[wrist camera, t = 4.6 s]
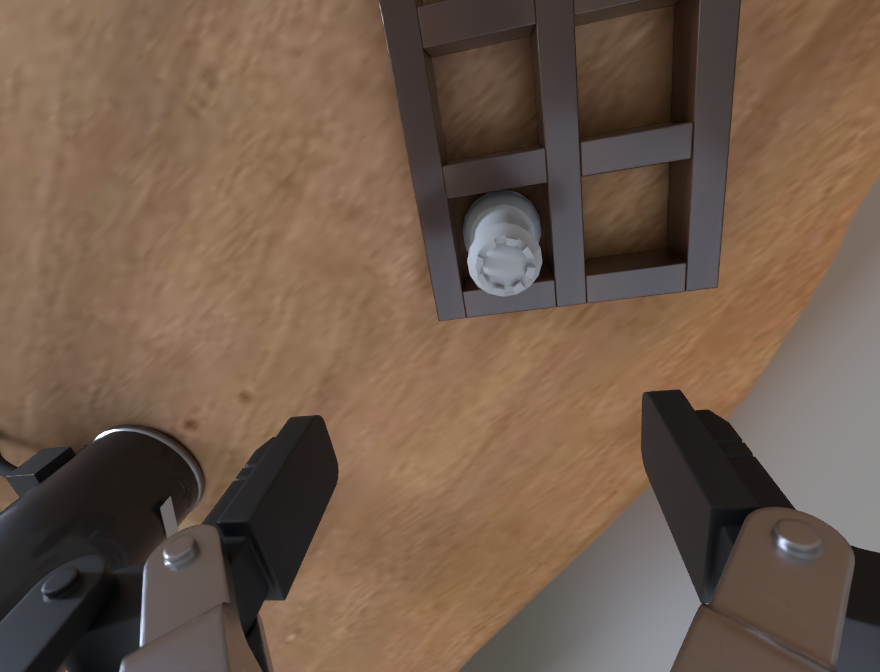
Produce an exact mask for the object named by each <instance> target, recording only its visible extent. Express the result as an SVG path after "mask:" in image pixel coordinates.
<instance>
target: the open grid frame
mask: <svg viewBox="0 0 880 672" xmlns="http://www.w3.org/2000/svg"><path fill="white" fill-rule="evenodd" d="M674 4H675V8H674V40H673V72H672V103H671V122H667V123H661V124H655V125H650V126H644V127H638V128H633V129H627V130H622V131H616V132H610V133H605V134H599V135H594V136H588V137H582V138H579V116H578V92H577V69H576V46H575V26H579V25H584V24H588V23H593V22H597V21H602V20H607V19H611V18H616V17H620V16H625V15H630V14H634V13H639V12H643V11H648V10H653V9H657V8H662V7H666V6H671V5H674ZM740 4H741V0H443V1H439V2H435V3H430V4H426V5H423V2H422V0H379V5H380V10H381V16H382V21H383V26H384V32H385V37H386V42H387V48H388V53H389V58H390V64H391V69H392V74H393V80H394V85H395V90H396V96H397V101H398V106H399V112H400V117H401V122H402V128H403V133H404V138H405V144H406V149H407V154H408V160H409V165H410V170H411V176H412V181H413V186H414V192H415V197H416V202H417V208H418V213H419V218H420V224H421V229H422V234H423V240H424V245H425V250H426V256H427V261H428V266H429V272H430V277H431V282H432V288H433V293H434V298H435V304H436V309H437V315H438V320H439V321H444V320H453V319H461V318H466V317H467V318H469V317H477V316H485V315H494V314H502V313H510V312H519V311H527V310H535V309H544V308H552V307H556V306H557V307H560V306H569V305H577V304H585V303H586V302H587V303H593V302H602V301H610V300H618V299H627V298H635V297H643V296H652V295H660V294H668V293H677V292H684V291H692V290H701V289H709V288H717V287H718V278H719V265H720V253H721V240H722V228H723V216H724V203H725V191H726V178H727V166H728V153H729V141H730V129H731V116H732V104H733V91H734V79H735V66H736V54H737V42H738V29H739V17H740ZM528 36H531V44H532V57H533V70H534V83H535V96H536V109H537V122H538V135H539V145H537V146H532V147H526V148H521V149H515V150H509V151H504V152H498V153H492V154H487V155H481V156H476V157H470V158H464V159H459V160H453V161H448V162H447V157H446V151H445V144H444V138H443V131H442V125H441V118H440V112H439V105H438V99H437V93H436V86H435V80H434V73H433V67H432V60H431V57H437V56H441V55H446V54H450V53H455V52H460V51H464V50H469V49H473V48H478V47H483V46H487V45H492V44H496V43H501V42H505V41H510V40H515V39H519V38H524V37H528ZM668 162H670V167H669V198H668V230H667V249H666V248H665V249H658V250H651V251H643V252H636V253H629V254H621V255H614V256H606V257H599V258H592V259H585V254H584V231H583V208H582V185H581V176H589V175H595V174H601V173H607V172H614V171H620V170H626V169H632V168H638V167H644V166H650V165H656V164H662V163H668ZM541 183H542V187H543V200H544V213H545V226H546V239H547V252H548V265H541V269H540V272H539V276H538V277H537V278H536V279H535V281H534V282H533V283H532V285H531V286H530V287H529V288H527V289H525V290H524V291H522V292H520V293H519V294H516V295H510V296H504V297H502V296H497V295H492V294H489V293H487V292H486V291H484V290H482V289H481V288H479V287H478V286H477V285H476V283H475V282H474V280H473V279H472V277H471V276H470V275H466V276H465V273H464V267H463V260H462V254H461V247H460V241H459V234H458V228H457V222H456V215H455V209H454V202H453V198H456V197H462V196H468V195H474V194H480V193H487V192H493V191H499V190H505V189H511V188H517V187H523V186H529V185H535V184H541Z"/></svg>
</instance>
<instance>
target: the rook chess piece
mask: <svg viewBox="0 0 880 672" xmlns="http://www.w3.org/2000/svg"><path fill="white" fill-rule="evenodd" d="M462 232H463V238H464V243H465V248H466V250H467V251H468V253H469V255H468V260H467V263H468V268H469V273H470V276H471V277H472V279H473V280H474V282H475V283H476V285H477V286H478V287H479V288H481V289H482V290H484V291H486V292H487V293H489V294H492V295H497V296H502V297H504V296H510V295H516V294H519V293H520V292H522V291H524V290H525V289H527V288H529V287H530V286H531V285H532V283H533V282H534V281H535V279H536V278H537V277H538V276H539V272H540V269H541V265H542V255H541V247H540V246H539V241H540V237H541V234H542V233H541V225H540V217H539V214H538V212H537V210H536V209H535V207H534V205H533V204H532V202H531V201H530V200H528V199H527V198H526V197H524V196H523V195H521V194H520V193H518V192H513V191H508V190H499V191H493V192H488V193H486V194H485V195H483V196H482V197H480V198H479V199H477V200H476V201H474V202H473V204H472V205H471V207H470V209H469V210H468V212H467V213H466V215H465V219H464V224H463V229H462Z"/></svg>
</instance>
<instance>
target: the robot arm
mask: <svg viewBox="0 0 880 672" xmlns="http://www.w3.org/2000/svg"><path fill="white" fill-rule="evenodd" d="M641 451H642V459H643V463H644V467H645V471H646V473H647V476H648V478H649V481H650V483H651V485H652V488H653V490H654V492H655V495H656V497H657V500H658V502H659V504H660V507H661V509H662V511H663V514H664V516H665V519H666V521H667V523H668V526H669V528H670V530H671V533H672V535H673V538H674V539H675V542H676V545H677V547H678V549H679V552H680V554H681V557H682V559H683V561H684V564H685V566H686V568H687V571H688V573H689V575H690V578H691V580H692V583H693V585H694V587H695V590H696V592H697V594H698V597H699V599H700V602H701V603H702V604H701V605H700V607H699V608H698V610H697V612H696V614H695V616H694V618H693V621H692V623H691V625H690V628H689V630H688V632H687V634H686V637H685V639H684V641H683V644H682V646H681V648H680V650H679V653H678V655H677V657H676V659H675V662H674V664H673V666H672V668H671V671H670V672H880V553H877V552H872V551H868V550H864V549H860V548H857V547H854V546H851V545H850V544H849V543H848V542H847V541H846V539H845V538H844V537H843V536H842V535H841V534H840V533H839V532H838V531H837V530H835V529H834V528H833V527H831V526H830V525H828V524H827V523H825V522H824V521H822V520H820V519H818V518H816V517H814V516H812V515H809V514H806V513H804V512H801V511H798V510H796V509H795V508H794V507H793V505H792V504H791V503H790V501H789V500H788V499H787V498H786V496H785V495H784V494H783V492H782V491H781V490H780V488H779V487H778V486H777V485H776V483H775V482H774V481H773V479H772V478H771V477H770V475H769V474H768V473H767V471H766V470H765V469H764V468H763V466H762V465H761V464H760V462H759V461H758V460H757V459H756V457H753V454H752V452H751V451H750V449H749V448H748V447H747V445H746V444H745V443H742V439H741V438H740V436H739V435H738V434H737V432H736V431H735V430H734V428H733V427H732V426H731V425H730V423H729V422H727V421H725V420H724V419H722V418H721V417H719V416H718V415H716V414H715V413H713V412H711V411H710V410H694V409H693V408H692V406H691V405H690V403H689V402H688V400H687V399H686V397H685V396H684V394H683V393H682V392H681V391H680V390H664V391H651V392H644V394H643V397H642V427H641ZM0 475H2V476H3V477H5V478H6V479H7V480H8V482H9V483H10V485H11V486H12V487H13V489H14V490H15V492H16V493H17V494H18V496H19V498H18V499H17V500H16V501H14V502H13V503H12V504H11V505H9V506H8V507H7V508H6V509H4V510H3V511H2V512H0V672H65V671H66V670H68V672H274V671H273V666H272V662H271V657H270V653H269V649H268V644H267V640H266V635H265V631H264V626H263V622H262V619H261V617H260V615H259V613H258V612H259V610H260V608H261V606H262V604H263V602H264V600H285V599H286V597H287V595H288V593H289V590H290V588H291V586H292V584H293V581H294V579H295V577H296V575H297V572H298V570H299V568H300V566H301V563H302V561H303V559H304V557H305V554H306V552H307V550H308V548H309V545H310V543H311V541H312V539H313V536H314V534H315V532H316V530H317V527H318V525H319V523H320V521H321V518H322V516H323V514H324V512H325V509H326V507H327V505H328V503H329V500H330V498H331V496H332V494H333V491H334V489H335V487H336V484H337V481H338V462H337V459H336V455H335V452H334V449H333V446H332V443H331V440H330V437H329V434H328V431H327V428H326V424H325V422H324V420H323V418H322V417H321V416H319V415H314V416H300V417H291V418H290V419H289V420H288V421H287V422H286V424H285V425H284V426H283V428H282V429H281V431H280V432H279V434H278V435H277V436H276V437H272V438H271V439H270V440H269V441H267V442H266V443H265V444H264V445H262V446H261V447H260V448H259V449H257V450H256V451H255V452H254V454H253V455H252V457H251V458H250V459H249V461H248V462H247V463H246V465H245V468H243V469H242V470H241V471H240V473H239V474H238V476H237V477H236V481H233V482H232V484H231V485H230V486H229V488H228V489H227V490H226V492H225V493H224V495H223V496H222V497H221V499H220V500H219V501H218V503H217V504H216V505H215V507H214V508H213V509H212V511H211V512H210V514H209V515H208V516H207V518H206V519H205V520H204V522H203V523H202V524H201V525H195V526H191V527H188V528H185V529H183V530H181V531H179V532H177V531H178V527H179V525H180V524H181V523H182V521H183V520H184V519H185V518H186V516H187V515H188V514H189V513H190V512H191V511H192V510H193V509H194V508H195V507H196V505H197V504H198V503H199V501H200V500H201V498H202V496H203V493H204V479H203V475H202V472H201V470H200V468H199V466H198V464H197V462H196V461H195V459H194V458H193V457H192V456H191V454H190V453H189V452H188V451H187V450H186V449H185V448H184V447H183V446H181V445H180V444H179V443H178V442H176V441H175V440H173V439H172V438H170V437H168V436H167V435H165V434H163V433H161V432H158V431H156V430H153V429H151V428H147V427H143V426H137V425H120V426H115V427H112V428H109V429H107V430H105V431H104V432H103V433H101V434H100V435H99V436H98V437H96V438H95V439H94V440H93V441H92V443H91V444H90V445H85V446H84V447H83V448H81V449H80V450H79V451H78V452H76V453H74V451H73V450H72V448H71V447H59V448H47V449H43V450H41V451H40V452H38V453H37V454H36V455H34V456H33V457H32V458H30V459H29V460H27V461H26V462H25V463H23V464H22V465H21V466H19V467H16V466H14V465H12V464H11V463H9V462H8V461H6V460H5V459H4V458H3V457H2V455H1V453H0ZM705 603H709V604H708V605H707V604H705Z"/></svg>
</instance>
